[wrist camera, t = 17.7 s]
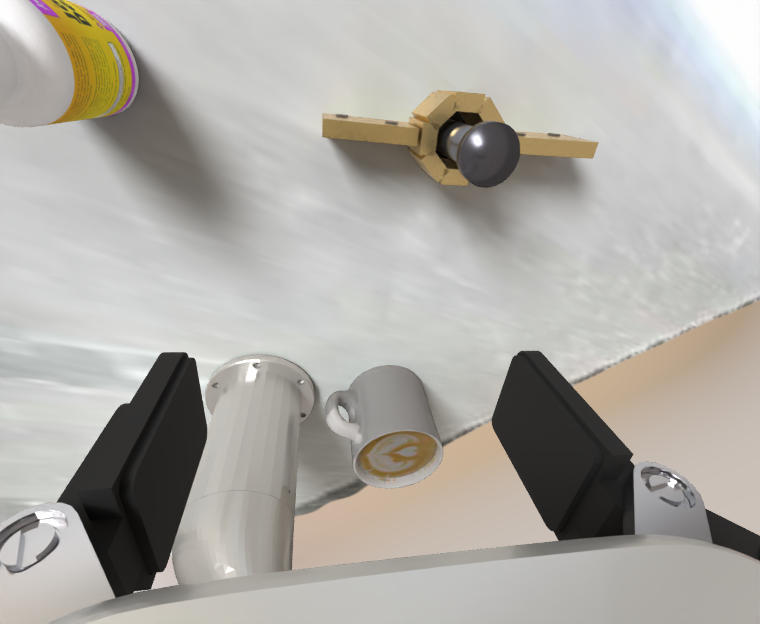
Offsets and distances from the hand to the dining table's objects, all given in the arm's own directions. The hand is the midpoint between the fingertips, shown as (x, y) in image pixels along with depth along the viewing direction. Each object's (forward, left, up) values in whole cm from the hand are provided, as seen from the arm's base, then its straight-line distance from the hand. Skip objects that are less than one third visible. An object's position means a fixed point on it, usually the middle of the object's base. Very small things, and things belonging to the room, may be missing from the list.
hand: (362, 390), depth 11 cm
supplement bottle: (+8, +18, -27) cm, 33 cm away
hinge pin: (+5, -9, -26) cm, 28 cm away
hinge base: (+5, -13, -26) cm, 30 cm away
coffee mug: (-25, -5, -27) cm, 37 cm away
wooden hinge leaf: (+5, -2, -26) cm, 27 cm away
